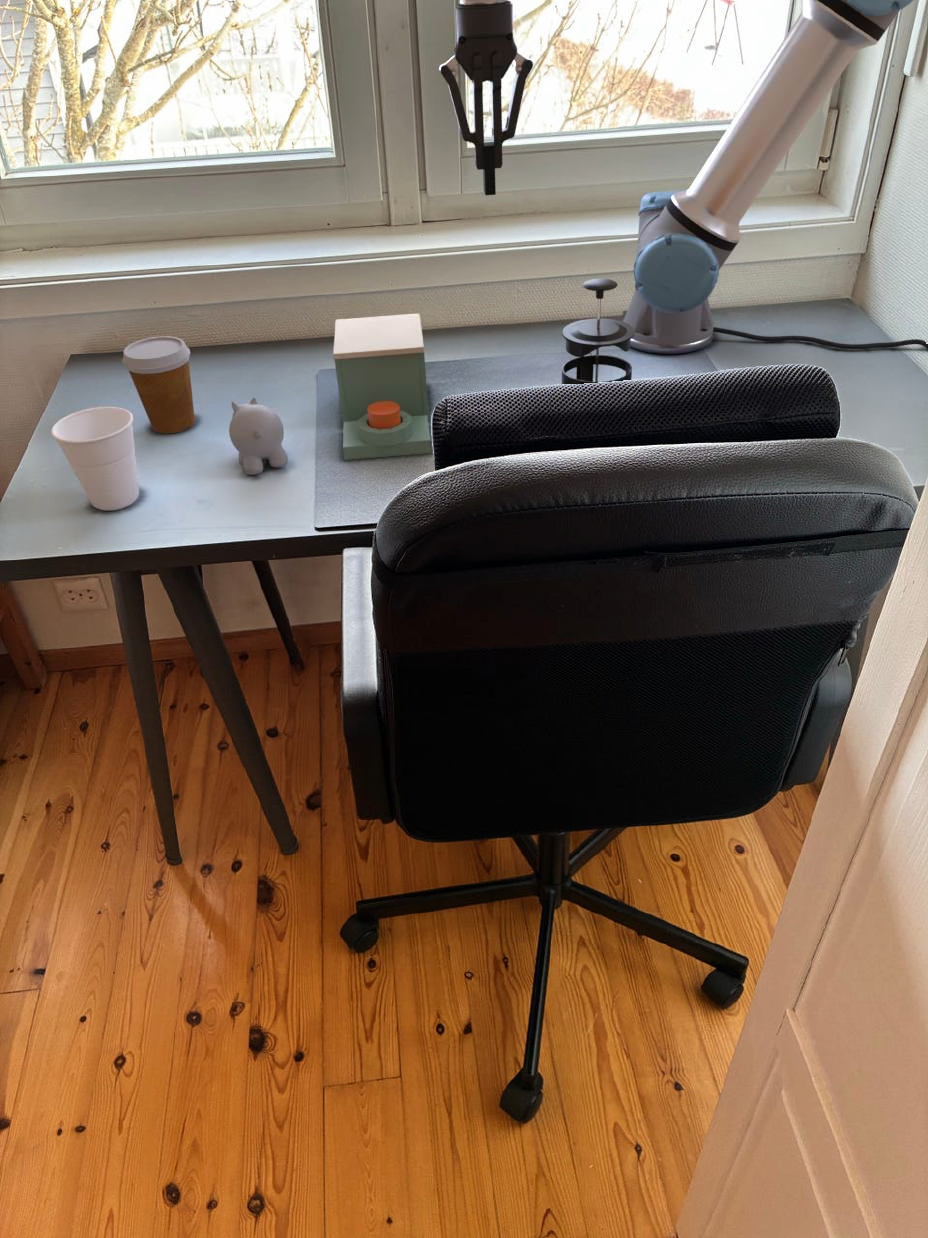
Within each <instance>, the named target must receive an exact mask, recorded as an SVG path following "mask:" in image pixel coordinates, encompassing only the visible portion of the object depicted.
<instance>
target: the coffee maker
mask: <svg viewBox="0 0 928 1238" xmlns="http://www.w3.org/2000/svg"><path fill="white" fill-rule="evenodd" d="M334 365H335V371H336V372H335V373H336V374H335V375H336V381H337V387H338V396H339V402H340V408H341V417H342V425H343V426H344V422H349V421H358V420H359V419H360V418H362V417H363V416H364V415H365V414H368V410H367V409H368V407H369V406H370V405H371V404H373V403H376V402H380V401H391V402H395V403H397V404H398V405H399V408H400V411H404V412H406V413H407V414H409V415H410V416H424V415H427V418H428V422H429V421H430V412H429V411H430V409H429V400H428V399H429V397H428V385H427V372H426V358H425V351H424V352H423V353H410V354H397V355H384V356H371V357H358V358H345V359H334Z"/></svg>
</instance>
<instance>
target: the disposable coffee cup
mask: <svg viewBox="0 0 928 1238" xmlns="http://www.w3.org/2000/svg"><path fill="white" fill-rule="evenodd" d="M190 356H191V350H190V348H189V347H188V346H187V345H186V342H185V341H184V340H183V338H180V337H176V336H169V335H167V336H165V335H163V336H153V337H146V338H143V339H140V340H136V341H134V342H132V343H130V344H128V345H127V346H126V347H125V348H124V349H123V358H122V360H121V362H122V364H123V366H124V367H125V368H126V369H127V371H128V373H129V374H130V378H131V380H132V382H133V385H134V387H135V389H136V392H137V394H138V396H139V399H140V401H141V404H142V406H143V409H144V411H145V413H146V416H147V418H148V421H149V424H150V425H151V428H152V430H153V431H154V432H156V433H159V434H176V433H180V432H183V431H186V430H188V429H190V428H192V427H193V426H194V424H195V423H196V419H195V418H196V417H195V410H194V409H195V408H194V400H193V388H192V381H191V370H190V362H189V361H190Z"/></svg>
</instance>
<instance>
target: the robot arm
mask: <svg viewBox="0 0 928 1238" xmlns="http://www.w3.org/2000/svg"><path fill="white" fill-rule="evenodd" d="M914 1H915V0H800V7H801V9H800V13H799V15H798V17H797V18H796V20H795V21H794V24H793V25H792V27H791V28H790V29H789V31H788V33H787V34H786V36H785V37H784V39H783V40H782V42H781V44H780V45H779V47H778V48H777V50H776V51H775V53H774V55H773V56H772V58H771V59H770V61H769V62H768V64H767V66H766V68H765V69H764V71H763V72H762V74H761V75H760V76H759V78H758V80H757V81H756V83H755V84H754V86H753V88H752V89H751V91H750V93H749V94H748V96H747V97H746V99H744V101H743V102H742V105H741V106H740V108H739V110H738V111H737V113H736V114H735V116H734V117H733V119H732V121H731V123H730V124H729V125H728V127H727V129H726V130H725V132H724V133H723V135H722V136H721V138H720V139H719V141H718V142H717V144H716V146H715V147H714V149H713V150H712V151H711V154H710V155H709V156H708V158H707V160H706V161H705V163H704V165H703V166H702V167H701V169H700V171H699V172H698V174H697V176H696V177H695V179H694V180H693V182H692V184H691V185H690V186H689V188H687V189H686V190H663V191H661V190H660V191H653V192H649V193H646V194H644V196H642V197H641V201H640V206H639V210H638V213H637V214H638V215H637V216H638V217H639V218H638V233H637V235H638V236H637V247H636V257H635V261H634V264H633V278H634V282H635V284H634V285H635V286H634V292H633V295H632V297H631V300H630V303H629V305H628V308H627V310H623V311H622V319H623V320H622V322H625V323H627V324H629V325H630V326H632V327H633V329H634V336H633V338H631V339H630V348H633V349H635V350H638V351H642V352H647V353H653V354H661V355H675V354H676V355H677V354H686V353H691V352H695V351H699V350H701V349H704V348H706V347H707V346H709V345H710V344H711V343H712V342H713V339H714V333H717V334H718V333H719V334H722V335H723V334H724V335H729V336H735V337H740V338H744V339H749V340H753V341H758V342H759V341H760V342H790V341H795V342H797V341H798V342H807V343H814V344H818V345H822V346H825V347H829V348H834V349H842V350H869V349H870V350H871V349H879V348H881V349H884V348H898V347H903V346H910V345H911V346H912V345H918V346H922V347H924V348H925V349H926V350H928V344H926V342H927V341H926V340H924V339H918V338H913V339H911V338H910V339H904V340H898V341H892V342H891V341H890V342H872V343H871V342H870V343H858V344H857V343H853V344H852V343H841V342H834V341H829V340H827V339H822V338H818V337H813V336H805V335H779V336H778V335H777V336H776V335H775V336H769V335H767V336H766V335H757V334H752V333H748V332H744V331H739V330H733V329H729V328H722V327H716V326H714V321H713V315H712V311H711V307H710V301H709V297H710V296H711V294H712V293H713V290H714V289H715V287H716V285H717V283H718V278H719V276H720V270H721V268H722V267H723V265H724V264H725V262H726V261H727V260H728V258H729V257H730V255H731V254H732V253H733V251H734V249H735V248H736V246H737V245H738V243H739V242H740V241H741V231H740V223H741V221H742V219H743V218H744V216H745V215H746V213H747V212H748V210H749V209H750V207H751V206H752V204H753V203H754V202H755V200H756V199H757V198H758V196H759V195H760V193H761V191H762V190H763V189H764V187H765V186H766V184H767V183H768V181H769V180H770V178H771V177H772V175H773V174H774V172H775V171H776V170H777V168H778V167H779V165H780V164H781V163H782V161H783V160H784V158H785V157H786V155H787V154H788V152H789V151H790V149H791V148H792V147H793V145H794V143H795V142H796V140H797V139H798V138H799V136H800V135H801V133H802V132H803V130H804V129H805V128H806V126H807V124H808V123H809V121H810V120H811V119H812V118H813V116H814V115H815V113H816V112H817V111H818V109H819V107H820V106H821V104H822V103H823V102H824V100H825V98H826V97H827V95H828V94H829V93H830V91H831V90H832V89H833V86H834V85H835V84H836V83H837V81H838V79H839V78H840V76H842V73H844V70H845V69H846V68H847V66H848V65H849V63H851V61H852V59H853V57H855V55H856V54H857V52H859V51H860V50H862V49H865V48H869V47H871V46H872V47H873V46H874V45H875V46H876V45H877V44H878V42H879V41H880V40H881V38H882V37H883V36H884V34H885V32H886V31H887V30H888V29H889V27H890V26H891V24H892V23H893V21H894V20H895V19H896V17H897V15H898V14H899V12H900V11H902V10H903V9H905V8H906V7H908V6H909V5H910V4H912V2H914ZM455 19H456V22H455V23H456V44H455V47H454V50H453V56H452V57H450V58H449V60H447V61H446V62H443V63H441V64H440V65H439V68H438V69H439V72H440V74H441V76H442V78H443V79H444V80H445V82H446V83H447V86H448V89H449V94H450V97H451V102H452V104H453V108H454V113H455V116H456V120H457V123H458V124H457V125H458V128H459V131H460V135H461V138H462V140H463V141H464V142H469V143H471V144H473V145H474V163H475V164H474V165H475V166H476V167H475V168H476V169H477V170H478V171H480V170H482V178H483V181H482V183H483V193H484V196H495V195H496V194H497V192H496V191H497V189H496V188H497V187H496V186H497V185H496V169H502V167H503V144H504V143H505V142H506V141H508V140H510V139H513V138H514V137H515V135H516V131H517V126H518V120H519V115H520V110H521V107H522V106H521V105H522V102H523V101H522V100H523V95H524V91H525V86H526V81H527V79H528V77H529V75H530V73H531V72H532V70H533V67H534V62H533V61H532V60H531V58H529V57H525V56H524V55H522V54H521V53H520V52H519V51H518V46H517V44H516V42H515V39H514V38H515V37H514V4H513V3H512V1H510V0H459V3H458V4H457V5H456V7H455ZM513 62H514V64H513ZM512 64H513V65H514V66H513V69H514V72H516V73H515V75H514V79H513V84H512V88H511V89H512V90H511V95H510V100H509V105H508V110H507V116H506V120H505V125H504V128H503V107H502V104H503V103H502V89H503V88H502V79H503V78H504V77H505V76H506V74H507V72H508V70H509V68H511V66H512ZM458 65H459V66H460V67H461V69H462V70H463V72H464V73H465V75H466V77H468V79H469V80H470V81H471V90H472V92H471V93H472V117H473V131H472V130H470V126H469V122H468V119H467V114H466V111H465V107H464V102H463V100H462V99H463V98H462V95H461V92H460V88H459V84H458V81H457V79H456V78H457V76H458V75H459V70H458ZM485 82H489V83H490V84H489V85H490V113H491V138H492V141H485V126H484V93H483V92H484V83H485ZM925 341H926V342H925Z"/></svg>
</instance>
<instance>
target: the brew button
mask: <svg viewBox="0 0 928 1238" xmlns="http://www.w3.org/2000/svg"><path fill="white" fill-rule="evenodd" d="M367 410H368V419H369V425H370V427H372V428H376V429H388V428H393V427H395V426H398V425H399V424H400V423H401V418H400V408H399V405H398V404H397V403H395V402H391V401H380V402H376V403H373V404H371V405H370V406H369V407H368V409H367Z"/></svg>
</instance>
